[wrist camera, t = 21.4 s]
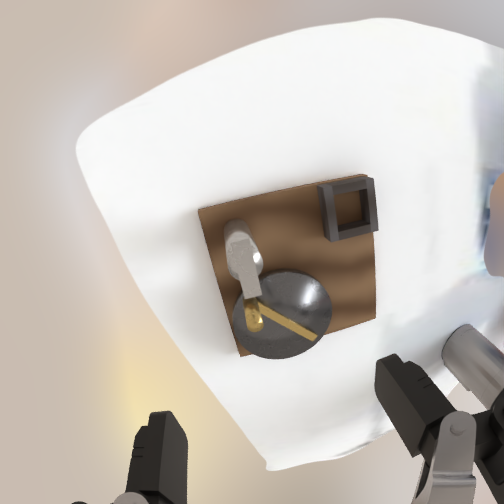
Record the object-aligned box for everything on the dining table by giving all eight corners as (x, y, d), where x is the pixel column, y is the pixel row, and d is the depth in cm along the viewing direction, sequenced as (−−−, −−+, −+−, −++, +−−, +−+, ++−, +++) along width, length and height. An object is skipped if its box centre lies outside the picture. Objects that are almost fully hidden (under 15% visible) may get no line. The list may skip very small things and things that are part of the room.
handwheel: (272, 248, 32) (285, 272, 26) (346, 298, 36) (368, 325, 30) (213, 327, 35) (213, 361, 29) (287, 364, 38) (299, 397, 32)
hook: (253, 247, 34) (270, 292, 23) (229, 253, 33) (236, 301, 23) (243, 207, 32) (258, 236, 22) (218, 213, 32) (221, 245, 21)
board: (372, 314, 40) (382, 326, 37) (239, 351, 40) (241, 367, 36) (362, 174, 33) (376, 176, 30) (198, 209, 33) (196, 215, 29)
